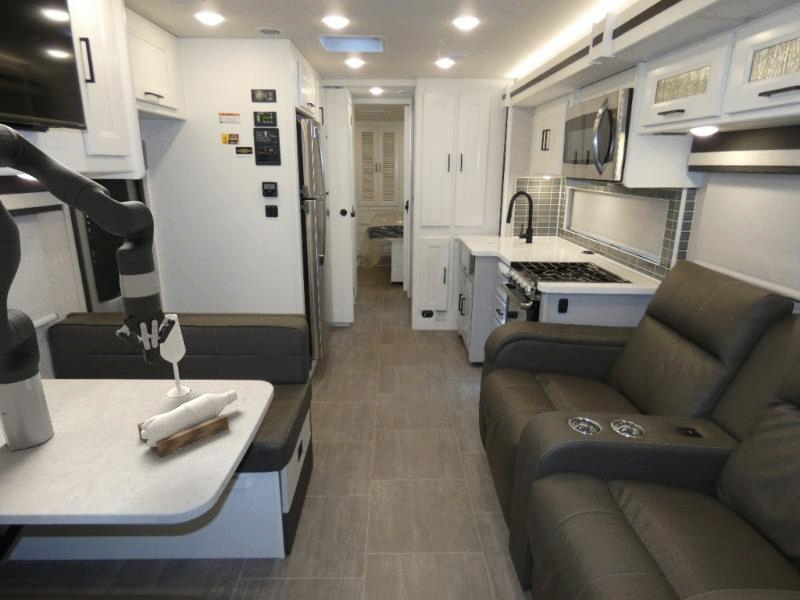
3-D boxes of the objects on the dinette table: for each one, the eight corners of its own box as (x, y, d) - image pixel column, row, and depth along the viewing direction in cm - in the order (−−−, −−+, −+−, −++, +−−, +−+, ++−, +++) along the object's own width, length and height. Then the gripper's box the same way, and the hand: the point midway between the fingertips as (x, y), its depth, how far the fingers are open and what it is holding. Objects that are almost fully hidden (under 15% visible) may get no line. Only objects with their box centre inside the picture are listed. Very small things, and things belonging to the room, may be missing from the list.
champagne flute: (189, 385, 147) (179, 311, 140) (192, 393, 141) (181, 317, 134) (166, 390, 143) (154, 315, 137) (168, 399, 138) (155, 321, 131)
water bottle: (158, 446, 109) (246, 402, 129) (145, 418, 109) (234, 379, 129) (147, 453, 113) (233, 410, 133) (134, 426, 113) (222, 387, 134)
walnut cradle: (161, 457, 110) (159, 444, 109) (139, 436, 118) (137, 424, 117) (228, 428, 122) (227, 416, 121) (204, 411, 131) (203, 400, 130)
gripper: (163, 283, 113) (173, 350, 118) (102, 294, 104) (115, 366, 109) (177, 288, 109) (187, 358, 113) (114, 300, 99) (127, 375, 104)
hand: (152, 362), depth 111 cm, fingers closed
